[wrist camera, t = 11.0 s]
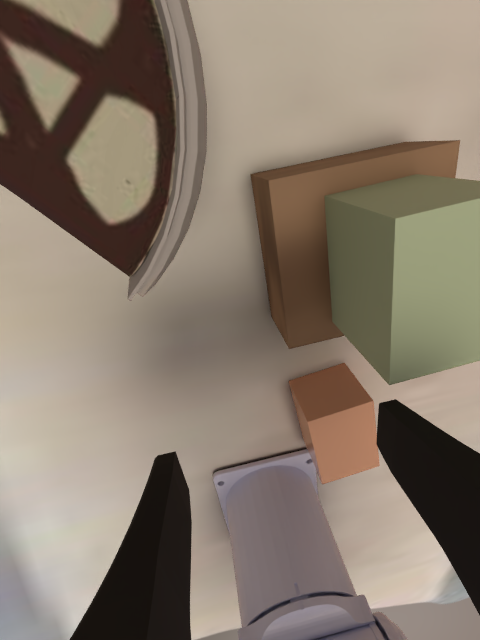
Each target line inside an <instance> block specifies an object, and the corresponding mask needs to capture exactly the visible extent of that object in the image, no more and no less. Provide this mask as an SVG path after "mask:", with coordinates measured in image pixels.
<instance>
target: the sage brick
mask: <svg viewBox="0 0 480 640" xmlns="http://www.w3.org/2000/svg"><path fill="white" fill-rule="evenodd" d="M324 197H325V213H326V229H327V244H328V260H329V276H330V291H331V307H332V322H333V323H334V324H335V325H336V326H337V327H338V329H339V330H340V331H341V332H342V333H343V334H344V335H345V336H346V337H347V339H348V340H349V341H350V342H351V343H352V344H353V345H354V346H355V347H356V349H357V350H358V351H359V352H360V353H361V354H362V355H363V356H364V358H365V359H366V360H367V361H368V362H369V363H370V364H371V365H372V366H373V368H374V369H375V370H376V371H377V372H378V373H379V374H380V375H381V377H382V378H383V379H384V380H385V381H386V382H387V383H388V384H389V385H392V384H395V383H399V382H403V381H406V380H410V379H414V378H417V377H421V376H425V375H428V374H432V373H436V372H440V371H443V370H447V369H451V368H454V367H458V366H462V365H465V364H469V363H473V362H476V361H480V181H475V180H466V179H456V178H447V177H438V176H428V175H419V174H415V175H411V176H407V177H403V178H398V179H394V180H390V181H386V182H381V183H377V184H373V185H368V186H364V187H360V188H356V189H351V190H347V191H343V192H339V193H334V194H330V195H326V196H324Z"/></svg>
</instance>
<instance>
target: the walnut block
mask: <svg viewBox="0 0 480 640" xmlns="http://www.w3.org/2000/svg"><path fill="white" fill-rule="evenodd" d="M459 145H460V140H456V141H421V142H403V143H398V144H393V145H388V146H384V147H379V148H374V149H369V150H364V151H360V152H355V153H350V154H345V155H340V156H335V157H331V158H326V159H321V160H316V161H311V162H307V163H302V164H297V165H292V166H287V167H283V168H278V169H273V170H268V171H263V172H258V173H254V174H251V180H252V187H253V194H254V201H255V207H256V214H257V221H258V228H259V235H260V242H261V248H262V255H263V262H264V269H265V276H266V282H267V289H268V296H269V303H270V310H271V316H272V318H273V320H274V322H275V324H276V326H277V327H278V329H279V331H280V333H281V335H282V336H283V338H284V340H285V342H286V344H287V346H288V347H289V349H291V348H295V347H299V346H304V345H308V344H312V343H316V342H320V341H324V340H328V339H332V338H337V337H341V336H345V335H344V334H343V333H342V332H341V331H340V330H339V329H338V327H337V326H336V325H335V324H334V323H333V322H332V307H331V291H330V276H329V260H328V244H327V229H326V213H325V197H324V196H326V195H330V194H334V193H339V192H343V191H347V190H351V189H356V188H360V187H364V186H368V185H373V184H377V183H381V182H386V181H390V180H394V179H398V178H403V177H407V176H411V175H415V174H419V175H428V176H438V177H447V178H455V176H456V168H457V160H458V153H459Z"/></svg>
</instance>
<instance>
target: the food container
mask: <svg viewBox="0 0 480 640" xmlns="http://www.w3.org/2000/svg"><path fill="white" fill-rule="evenodd" d="M206 136H207V103H206V94H205V86H204V78H203V70H202V61H201V54H200V50H199V46H198V42H197V38H196V34H195V30H194V26H193V21H192V17H191V13H190V9H189V5H188V1H187V0H0V184H1V185H2V186H4V187H5V188H7V189H8V190H10V191H11V192H13V193H14V194H15V195H17V196H18V197H20V198H21V199H23V200H24V201H25V202H27V203H28V204H30V205H31V206H32V207H34V208H35V209H36V210H38V211H39V212H41V213H42V214H43V215H45V216H46V217H48V218H49V219H50V220H52V221H53V222H54V223H56V224H57V225H59V226H60V227H61V228H63V229H64V230H66V231H67V232H68V233H70V234H71V235H72V236H74V237H75V238H77V239H78V240H79V241H81V242H82V243H84V244H85V245H86V246H88V247H89V248H90V249H92V250H93V251H95V252H96V253H97V254H99V255H100V256H102V257H103V258H104V259H106V260H107V261H108V262H110V263H111V264H113V265H114V266H115V267H117V268H118V269H120V270H121V271H122V272H124V273H125V274H127V275H128V276H129V277H130V279H129V289H128V300H129V301H131V300H132V299H133V297H134V296H135V294H136V293H138V294H139V295H141V296H142V297H143V296H144V295H145V294H146V293H147V292H148V291H149V290H150V289H151V288H152V287H153V286H154V285H155V284H156V283H157V281H158V280H159V278H160V277H161V276H162V274H163V273H164V271H165V270H166V268H167V267H168V266H169V264H170V263H171V261H172V260H173V259H174V257H175V255H176V253H177V251H178V249H179V247H180V245H181V243H182V241H183V239H184V237H185V235H186V233H187V231H188V229H189V226H190V223H191V219H192V216H193V213H194V210H195V207H196V204H197V200H198V197H199V194H200V189H201V183H202V176H203V170H204V163H205V157H206Z"/></svg>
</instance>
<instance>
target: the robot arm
mask: <svg viewBox="0 0 480 640" xmlns="http://www.w3.org/2000/svg"><path fill="white" fill-rule="evenodd" d="M376 444H377V446H378V448H379V450H380V452H381V454H382V456H383V458H384V460H385V462H386V463H387V465H388V467H389V469H390V471H391V473H392V474H393V476H394V477H395V479H396V480H397V482H398V483H399V485H400V486H401V488H402V489H403V491H404V492H405V493H406V495H407V496H408V498H409V499H410V501H411V502H412V504H413V505H414V507H415V508H416V510H417V511H418V513H419V514H420V515H421V517H422V518H423V520H424V521H425V523H426V524H427V526H428V527H429V529H430V530H431V532H432V533H433V535H434V536H435V538H436V539H437V541H438V542H439V544H440V545H441V547H442V549H443V550H444V552H445V554H446V555H447V557H448V559H449V561H450V562H451V564H452V566H453V568H454V570H455V571H456V573H457V575H458V577H459V578H460V580H461V582H462V584H463V585H464V587H465V589H466V591H467V593H468V595H469V596H470V598H471V600H472V602H473V604H474V606H475V608H476V609H477V611H478V613H479V615H480V453H478V452H476V451H474V450H473V449H471V448H469V447H468V446H466V445H464V444H463V443H461V442H460V441H458V440H457V439H455V438H453V437H452V436H450V435H449V434H447V433H445V432H444V431H442V430H441V429H439V428H438V427H436V426H435V425H433V424H432V423H430V422H429V421H427V420H426V419H424V418H423V417H421V416H420V415H418V414H417V413H415V412H414V411H412V410H411V409H409V408H408V407H406V406H405V405H403V404H402V403H400V402H399V401H397V400H396V399H395V400H391V401H387V402H383V403H379V413H378V427H377V442H376ZM213 481H214V485H215V488H216V491H217V494H218V498H219V501H220V504H221V508H222V511H223V514H224V518H225V521H226V524H227V528H228V531H229V534H230V539H231V547H232V554H233V562H234V570H235V578H236V585H237V593H238V601H239V609H240V616H241V624H242V628H240V629H238V638H239V640H408V639H407V638H406V636H405V635H404V633H403V632H402V630H401V629H400V628H399V627H398V626H397V625H396V624H395V623H394V622H392V621H391V620H390V619H389V618H388V617H387V616H386V615H384V614H383V613H382V612H375V613H372V612H371V610H370V607H369V605H368V602H367V600H366V598H365V595H359V596H357V595H356V592H355V589H354V587H353V584H352V582H351V579H350V577H349V574H348V572H347V569H346V567H345V564H344V562H343V559H342V557H341V554H340V552H339V549H338V547H337V544H336V541H335V539H334V536H333V534H332V531H331V529H330V526H329V524H328V521H327V519H326V516H325V514H324V511H323V509H322V506H321V504H320V501H319V498H318V491H317V476H316V468H315V466H314V463H313V461H312V459H311V456H310V454H309V451H308V449H305V450H301V451H297V452H293V453H289V454H285V455H281V456H277V457H273V458H269V459H265V460H261V461H256V462H252V463H248V464H244V465H240V466H236V467H232V468H228V469H224V470H220V471H217V472H215V473H214V474H213ZM191 525H192V522H191V508H190V496H189V488H188V486H187V483H186V480H185V477H184V474H183V472H182V469H181V466H180V463H179V460H178V458H177V455H176V452H171V453H167V454H163V455H158V456H157V457H156V458H155V460H154V463H153V466H152V469H151V472H150V475H149V478H148V481H147V484H146V487H145V489H144V492H143V495H142V497H141V500H140V502H139V505H138V507H137V510H136V512H135V514H134V517H133V519H132V522H131V524H130V526H129V529H128V531H127V533H126V535H125V537H124V539H123V542H122V544H121V546H120V548H119V550H118V552H117V555H116V557H115V559H114V561H113V563H112V565H111V567H110V569H109V571H108V573H107V575H106V577H105V578H104V580H103V582H102V584H101V586H100V588H99V590H98V592H97V593H96V595H95V597H94V599H93V601H92V603H91V604H90V606H89V608H88V609H87V611H86V613H85V615H84V616H83V618H82V620H81V621H80V623H79V625H78V627H77V628H76V630H75V632H74V633H73V635H72V637H71V638H70V640H191V630H190V572H191Z"/></svg>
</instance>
